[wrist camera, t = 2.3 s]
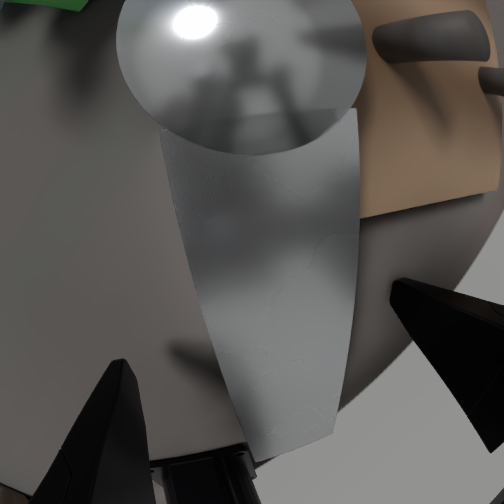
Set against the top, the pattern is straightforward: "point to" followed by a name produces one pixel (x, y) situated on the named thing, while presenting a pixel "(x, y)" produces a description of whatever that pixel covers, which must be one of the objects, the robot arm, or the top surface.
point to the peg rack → (427, 103)
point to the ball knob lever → (261, 190)
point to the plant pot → (11, 496)
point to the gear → (52, 3)
